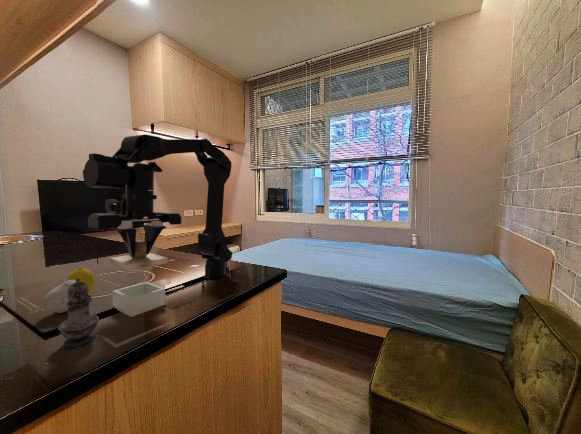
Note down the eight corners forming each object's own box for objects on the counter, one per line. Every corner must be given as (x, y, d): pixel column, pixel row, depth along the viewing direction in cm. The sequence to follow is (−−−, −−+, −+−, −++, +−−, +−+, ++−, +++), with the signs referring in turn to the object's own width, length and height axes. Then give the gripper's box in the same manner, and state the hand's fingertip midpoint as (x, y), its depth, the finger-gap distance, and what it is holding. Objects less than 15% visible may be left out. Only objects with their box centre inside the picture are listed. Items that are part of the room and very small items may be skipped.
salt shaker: (52, 353, 44) (49, 284, 43) (65, 335, 50) (63, 274, 48) (94, 346, 46) (92, 281, 45) (103, 330, 52) (101, 271, 51)
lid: (148, 256, 68) (148, 237, 68) (167, 262, 64) (168, 241, 63) (109, 263, 61) (109, 241, 60) (128, 270, 56) (128, 246, 56)
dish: (147, 298, 68) (146, 281, 67) (165, 306, 63) (165, 288, 63) (112, 309, 61) (112, 290, 60) (130, 319, 57) (130, 299, 56)
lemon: (79, 303, 63) (78, 271, 62) (61, 300, 64) (60, 269, 63) (100, 295, 68) (99, 265, 68) (83, 292, 70) (82, 263, 69)
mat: (164, 280, 81) (164, 279, 81) (184, 287, 76) (184, 286, 76) (130, 289, 73) (130, 288, 73) (151, 298, 67) (151, 296, 67)
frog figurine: (89, 310, 60) (88, 280, 59) (48, 321, 54) (47, 289, 54) (81, 302, 64) (80, 275, 63) (42, 312, 58) (40, 282, 57)
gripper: (159, 191, 73) (158, 245, 74) (77, 186, 57) (78, 256, 59) (183, 192, 67) (182, 251, 68) (99, 187, 51) (99, 265, 53)
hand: (139, 255), depth 62 cm, fingers closed on lid, 3 cm apart
